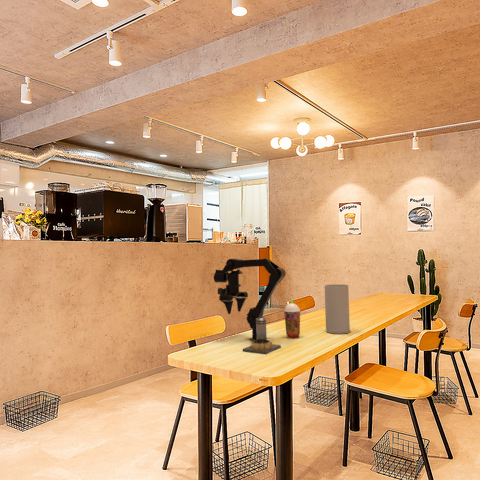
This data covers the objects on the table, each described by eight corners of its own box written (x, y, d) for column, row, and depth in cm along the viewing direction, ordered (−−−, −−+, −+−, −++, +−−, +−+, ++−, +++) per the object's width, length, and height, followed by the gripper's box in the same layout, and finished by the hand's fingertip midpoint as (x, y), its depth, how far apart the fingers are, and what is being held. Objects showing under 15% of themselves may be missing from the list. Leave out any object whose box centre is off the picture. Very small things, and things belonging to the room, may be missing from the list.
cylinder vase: (325, 329, 227) (324, 284, 228) (348, 329, 225) (347, 284, 225) (326, 334, 215) (324, 286, 216) (350, 334, 213) (349, 286, 213)
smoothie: (283, 338, 208) (281, 298, 208) (287, 334, 216) (285, 297, 216) (299, 339, 205) (298, 299, 205) (302, 335, 213) (301, 297, 213)
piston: (264, 345, 189) (263, 317, 189) (268, 347, 184) (267, 318, 185) (255, 346, 187) (254, 318, 188) (259, 348, 183) (257, 319, 183)
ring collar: (258, 344, 195) (258, 337, 195) (280, 347, 188) (280, 339, 188) (242, 351, 183) (242, 343, 183) (265, 354, 176) (265, 346, 177)
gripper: (230, 281, 225) (231, 309, 224) (210, 283, 209) (211, 314, 209) (248, 281, 219) (248, 310, 218) (228, 284, 203) (228, 315, 203)
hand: (234, 312), depth 212 cm, fingers open, 9 cm apart
